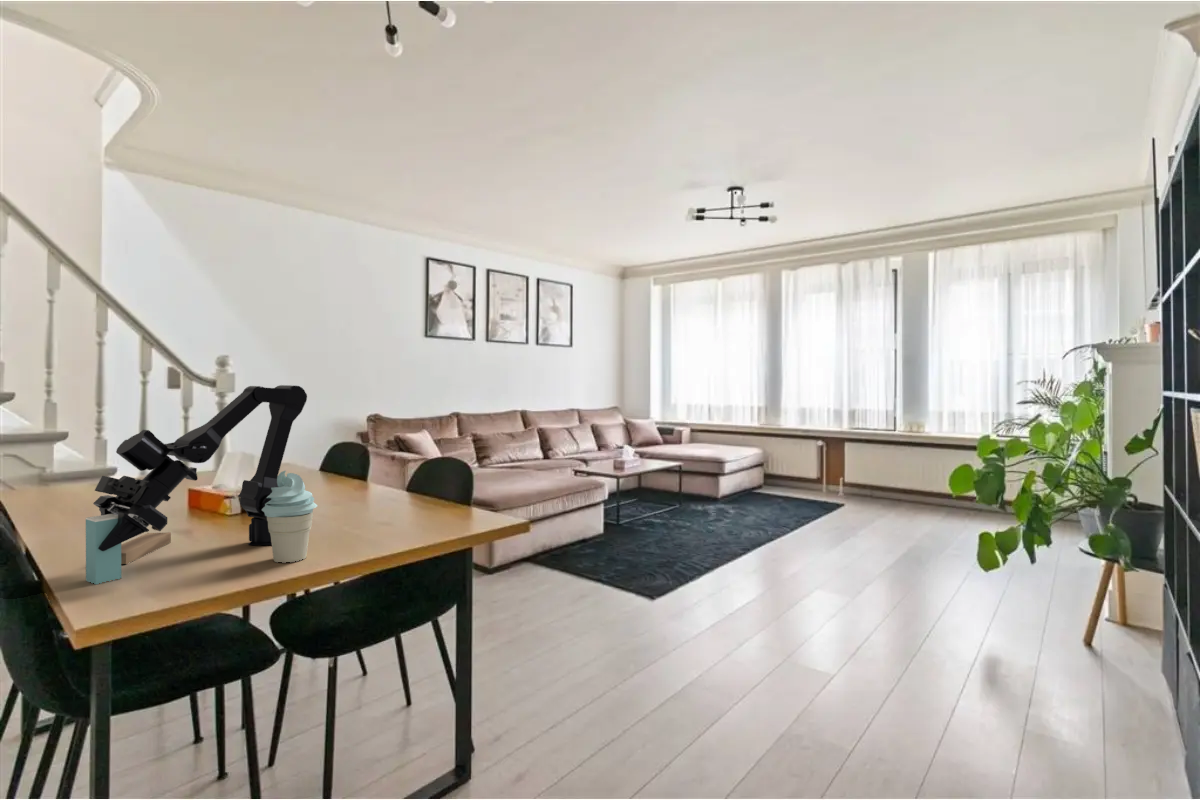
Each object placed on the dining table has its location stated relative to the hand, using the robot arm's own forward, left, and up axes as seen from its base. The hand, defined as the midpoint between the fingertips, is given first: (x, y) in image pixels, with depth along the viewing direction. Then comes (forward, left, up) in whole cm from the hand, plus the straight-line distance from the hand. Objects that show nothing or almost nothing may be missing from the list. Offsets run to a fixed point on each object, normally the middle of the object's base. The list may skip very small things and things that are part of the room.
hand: (95, 548), depth 119 cm
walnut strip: (+3, -20, -7) cm, 21 cm away
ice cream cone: (-32, -12, -7) cm, 35 cm away
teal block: (-1, -1, -7) cm, 7 cm away
